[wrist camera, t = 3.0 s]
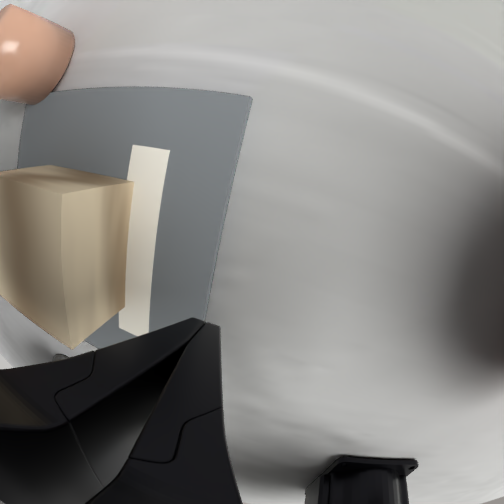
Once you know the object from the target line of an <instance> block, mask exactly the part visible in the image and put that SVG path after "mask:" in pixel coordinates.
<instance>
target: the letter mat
mask: <svg viewBox="0 0 504 504" xmlns="http://www.w3.org/2000/svg"><path fill="white" fill-rule="evenodd" d="M252 100H253V99H252V98H251V97H250V96H245V95H238V94H231V93H224V92H216V91H207V90H196V89H184V88H168V87H102V88H86V89H75V90H65V91H57V92H51V93H50V94H49V95H48V96H47V97H46V98H45V99H43V100H42V101H41V102H39V103H37V104H35V105H29V104H26V108H25V113H24V118H23V124H22V130H21V137H20V145H19V154H18V164H17V169H21V168H28V167H36V166H45V165H54V166H59V167H64V168H70V169H75V170H80V171H85V172H90V173H95V174H100V175H105V176H110V177H115V178H119V179H124V180H128V181H133V182H134V188H133V195H132V203H131V211H130V221H129V231H128V244H127V259H126V280H125V307H124V308H123V309H122V310H120V311H119V312H118V313H117V314H115V315H114V316H113V317H112V318H110V319H109V320H108V321H107V322H105V323H104V324H103V325H102V326H101V327H99V328H98V329H97V330H96V331H94V332H93V333H92V334H91V335H90V336H88V337H87V338H86V339H85V340H84V341H86V342H88V343H90V344H91V345H93V346H95V347H96V348H98V349H101V348H104V347H107V346H110V345H113V344H116V343H119V342H122V341H125V340H128V339H131V338H134V337H137V336H140V335H143V334H146V333H149V332H152V331H155V330H158V329H160V328H163V327H166V326H169V325H172V324H175V323H177V322H180V321H183V320H186V319H189V318H192V317H194V318H197V319H200V320H203V321H205V317H206V311H207V306H208V300H209V295H210V290H211V285H212V279H213V274H214V269H215V264H216V259H217V254H218V249H219V244H220V239H221V234H222V230H223V225H224V220H225V215H226V211H227V206H228V202H229V197H230V192H231V188H232V183H233V179H234V175H235V170H236V166H237V162H238V157H239V153H240V149H241V145H242V140H243V136H244V132H245V128H246V124H247V120H248V116H249V112H250V108H251V104H252Z"/></svg>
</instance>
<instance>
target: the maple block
mask: <svg viewBox="0 0 504 504" xmlns="http://www.w3.org/2000/svg"><path fill="white" fill-rule="evenodd" d="M133 188H134V182H133V181H128V180H124V179H119V178H115V177H110V176H105V175H100V174H95V173H90V172H85V171H80V170H75V169H70V168H64V167H59V166H54V165H45V166H36V167H28V168H21V169H14V170H7V171H1V172H0V295H1V296H2V297H3V298H4V299H5V300H6V301H8V302H9V303H10V304H11V305H12V306H13V307H15V308H16V309H17V310H18V311H19V312H21V313H22V314H23V315H24V316H26V317H27V318H28V319H30V320H31V321H32V322H33V323H35V324H36V325H37V326H39V327H40V328H41V329H43V330H44V331H46V332H47V333H48V334H50V335H51V336H53V337H54V338H55V339H57V340H58V341H60V342H61V343H63V344H64V345H66V346H67V347H69V348H70V349H72V350H73V349H74V348H75V347H76V346H78V345H79V344H80V343H81V342H82V341H84V340H85V339H86V338H87V337H88V336H90V335H91V334H92V333H93V332H94V331H96V330H97V329H98V328H99V327H101V326H102V325H103V324H104V323H105V322H107V321H108V320H109V319H110V318H112V317H113V316H114V315H115V314H117V313H118V312H119V311H120V310H122V309H123V308H124V307H125V280H126V259H127V244H128V231H129V221H130V211H131V203H132V195H133Z"/></svg>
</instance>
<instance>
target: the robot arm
mask: <svg viewBox="0 0 504 504" xmlns="http://www.w3.org/2000/svg"><path fill="white" fill-rule="evenodd" d="M417 467H418V461H417V460H378V459H364V458H353V457H341V458H339V459H337V460H336V461H335V462H334V463H333V464H332V465H331V466H330V467H329V468H328V469H327V470H326V471H325V472H324V473H323V474H322V475H321V476H319V477H318V478H317V479H316V480H315V481H314V482H313V483H312V484H311V485H310V486H308V487H307V489H306V490H305V495H306V498H305V504H409V499H408V490H407V482H406V476H408V475H409V474H410V473H411V472H413V471H414V470H415V469H416V468H417ZM0 504H243V503H242V500H241V497H240V493H239V490H238V486H237V483H236V479H235V476H234V472H233V468H232V465H231V461H230V457H229V452H228V447H227V442H226V436H225V426H224V412H223V394H222V369H221V335H220V327H219V326H217V325H214V324H211V323H206V322H205V321H203V320H200V319H197V318H194V317H192V318H189V319H186V320H183V321H180V322H177V323H175V324H172V325H169V326H166V327H163V328H160V329H158V330H155V331H152V332H149V333H146V334H143V335H140V336H137V337H134V338H131V339H128V340H125V341H122V342H119V343H116V344H113V345H110V346H107V347H104V348H101V349H97V350H96V351H91V352H88V353H84V354H81V355H77V356H74V357H70V358H66V359H62V360H57V361H53V362H48V363H42V364H36V365H30V366H24V367H18V368H11V369H0Z"/></svg>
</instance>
